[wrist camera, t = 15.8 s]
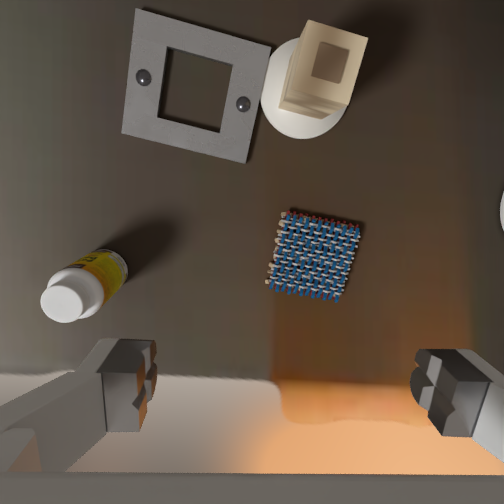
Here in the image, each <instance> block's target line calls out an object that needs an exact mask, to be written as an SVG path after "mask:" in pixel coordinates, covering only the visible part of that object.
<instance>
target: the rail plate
mask: <svg viewBox="0 0 504 504" xmlns="http://www.w3.org/2000/svg"><path fill="white" fill-rule="evenodd" d="M169 49H171V50H175V51H179V52H182V53H186V54H189V55H193V56H197V57H200V58H204V59H207V60H211V61H214V62H218V63H222V64H225V65H229V66H232V67H233V68H232V73H231V79H230V84H229V89H228V94H227V99H226V104H225V109H224V114H223V119H222V125H221V130H220V133H216V132H212V131H208V130H204V129H200V128H196V127H193V126H189V125H185V124H181V123H177V122H173V121H169V120H165V119H161V118H159V113H160V106H161V99H162V92H163V85H164V78H165V71H166V64H167V57H168V50H169ZM270 50H271V47H268V46H265V45H261V44H258V43H254V42H251V41H247V40H244V39H241V38H237V37H234V36H230V35H227V34H223V33H220V32H216V31H213V30H209V29H206V28H203V27H199V26H196V25H192V24H189V23H185V22H182V21H178V20H175V19H171V18H168V17H165V16H161V15H158V14H154V13H151V12H147V11H144V10H140V9H137V8H136V11H135V19H134V28H133V37H132V46H131V54H130V63H129V72H128V81H127V90H126V98H125V107H124V116H123V125H122V133H123V134H127V135H131V136H135V137H139V138H143V139H147V140H151V141H155V142H159V143H163V144H168V145H172V146H176V147H180V148H184V149H188V150H192V151H196V152H200V153H204V154H208V155H212V156H216V157H220V158H224V159H228V160H232V161H236V162H240V163H244V164H245V163H246V158H247V154H248V149H249V145H250V140H251V136H252V131H253V127H254V122H255V118H256V113H257V109H258V104H259V100H260V95H261V91H262V86H263V82H264V77H265V73H266V68H267V64H268V59H269V55H270Z"/></svg>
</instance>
